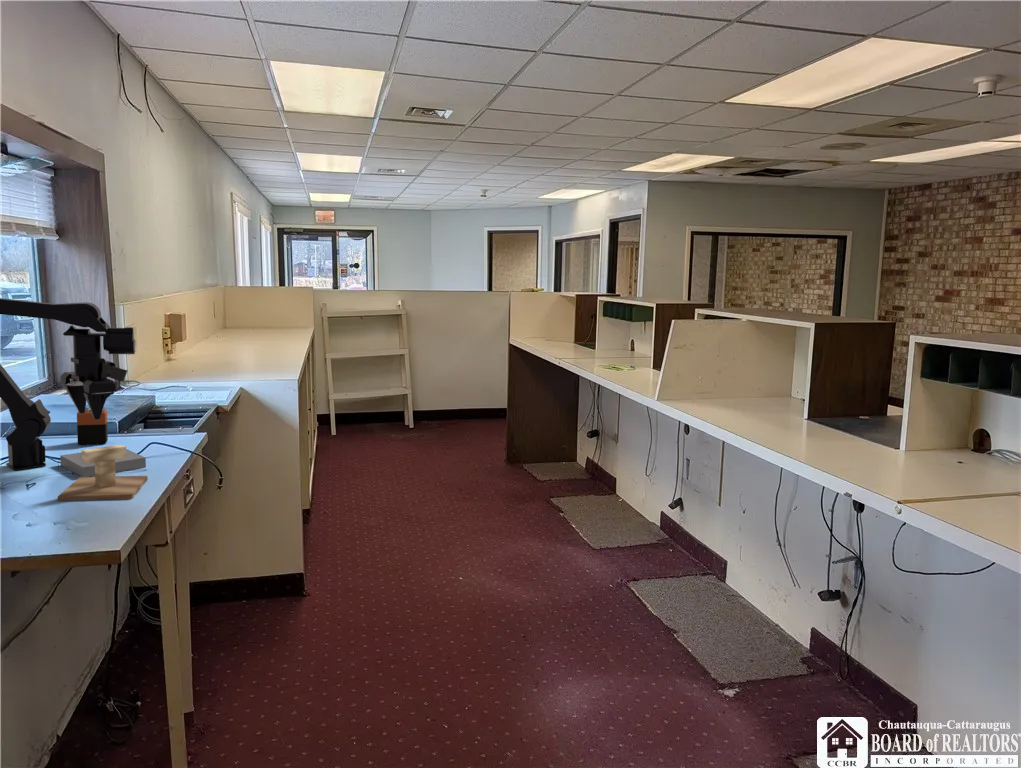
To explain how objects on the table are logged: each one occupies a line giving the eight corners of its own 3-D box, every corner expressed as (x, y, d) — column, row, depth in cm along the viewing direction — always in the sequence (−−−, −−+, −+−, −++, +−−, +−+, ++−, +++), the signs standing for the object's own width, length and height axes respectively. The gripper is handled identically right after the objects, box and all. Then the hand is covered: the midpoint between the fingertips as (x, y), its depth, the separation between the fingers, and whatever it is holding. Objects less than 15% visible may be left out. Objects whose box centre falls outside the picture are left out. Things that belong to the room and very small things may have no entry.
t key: (88, 490, 145) (87, 452, 144) (82, 487, 147) (81, 449, 146) (127, 483, 152) (126, 446, 150) (121, 480, 154) (120, 444, 152)
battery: (79, 441, 187) (78, 406, 186) (107, 440, 190) (107, 406, 189) (77, 445, 184) (76, 409, 182) (106, 444, 186) (105, 409, 185)
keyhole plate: (83, 477, 157) (83, 467, 156) (60, 465, 165) (60, 455, 165) (145, 467, 168) (145, 457, 167) (121, 455, 176) (121, 446, 176)
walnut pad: (132, 498, 145) (132, 494, 145) (58, 500, 141) (57, 496, 141) (147, 479, 158) (147, 475, 158) (80, 481, 154) (79, 477, 154)
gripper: (139, 356, 165) (140, 418, 168) (107, 348, 176) (108, 406, 179) (89, 359, 157) (91, 424, 159) (58, 350, 168) (61, 411, 170)
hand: (89, 416), depth 167 cm, fingers open, 9 cm apart
